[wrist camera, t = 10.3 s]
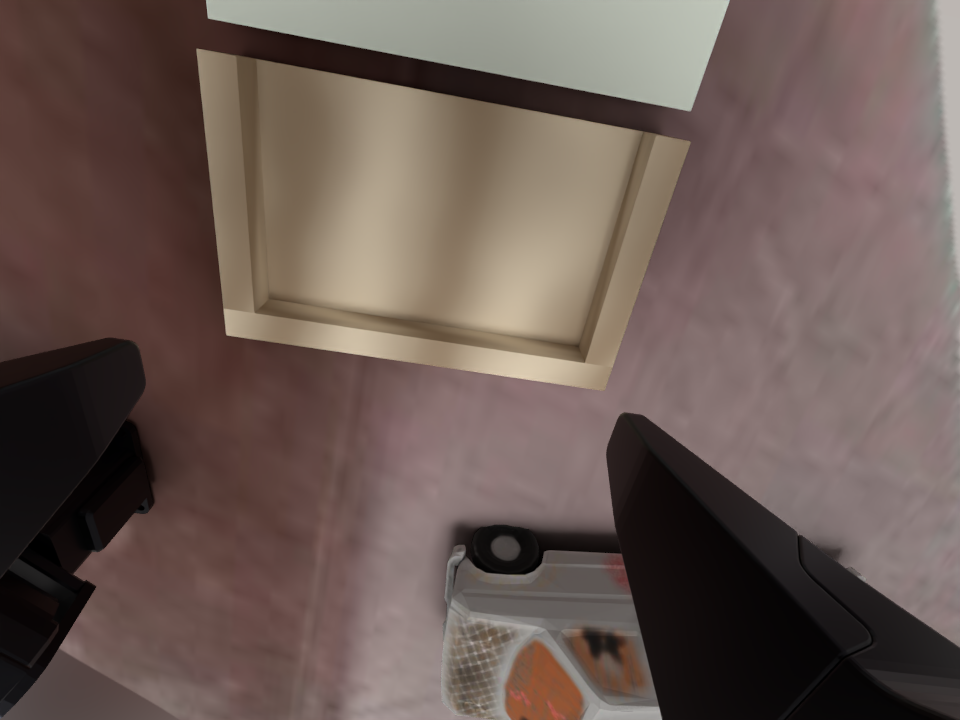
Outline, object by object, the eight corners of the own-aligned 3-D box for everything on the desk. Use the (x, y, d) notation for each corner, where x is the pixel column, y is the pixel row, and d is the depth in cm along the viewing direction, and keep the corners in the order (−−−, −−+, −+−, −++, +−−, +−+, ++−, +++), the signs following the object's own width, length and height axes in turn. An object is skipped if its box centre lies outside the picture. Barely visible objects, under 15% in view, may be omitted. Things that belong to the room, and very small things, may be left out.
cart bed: (257, 306, 22) (226, 335, 20) (240, 55, 17) (196, 48, 15) (590, 357, 23) (604, 390, 21) (661, 134, 19) (690, 141, 16)
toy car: (450, 517, 29) (434, 699, 20) (847, 542, 30) (997, 729, 21) (443, 622, 34) (428, 804, 26) (781, 642, 35) (880, 824, 26)
